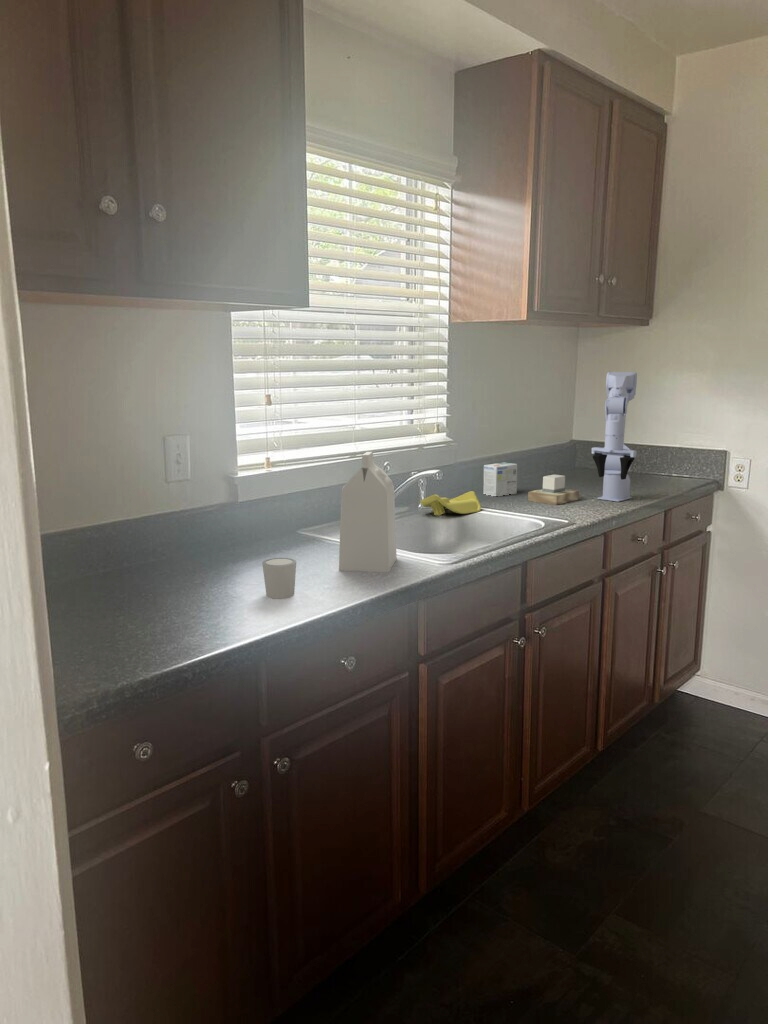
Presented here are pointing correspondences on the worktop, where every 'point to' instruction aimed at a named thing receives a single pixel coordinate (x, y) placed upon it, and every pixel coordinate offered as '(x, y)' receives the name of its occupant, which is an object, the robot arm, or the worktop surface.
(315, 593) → the worktop surface
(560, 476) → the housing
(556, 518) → the worktop surface
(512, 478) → the light bulb box
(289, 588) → the shot glass
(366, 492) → the milk
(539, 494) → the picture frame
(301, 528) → the worktop surface
